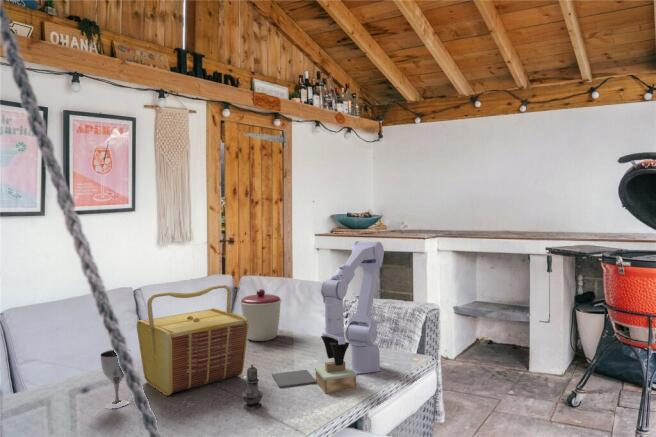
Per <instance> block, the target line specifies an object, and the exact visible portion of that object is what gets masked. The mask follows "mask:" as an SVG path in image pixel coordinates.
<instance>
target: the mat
mask: <svg viewBox="0 0 656 437" xmlns="http://www.w3.org/2000/svg"><path fill="white" fill-rule="evenodd" d="M271 376H272V378H273V380H274V382H275V383H276V385H277V386H278V388H279V389H284V388H291V387H299V386H306V385H311V384H312V385H313V384H317V381H316V378H314V377H313V375H312V374H311V372H310V371H309V370H308V369H301V370H300V369H299V370H292V371H285V372H276V373H271Z"/></svg>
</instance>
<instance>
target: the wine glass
mask: <svg viewBox="0 0 656 437" xmlns="http://www.w3.org/2000/svg"><path fill="white" fill-rule="evenodd" d="M128 350H129V351H130V352H131V349H128ZM100 365H101V370H102V373H103V375H104V376H105V377H106V378H107V379H108V380H109V381H111V383H112V384H113V387H114V388H113V389H114V393H115V394H114V395H115V397H114V398H115V399H114V400H115V401H113V400H112V401H113V402H112V404H117V403H120V402H121V401H122V400H119V399H120V398H119V388H120V384H121V381H122V379H124V377H125V376H124V374H123V372H122V370H121V368H120V366H119V363H118V358H117V355H116V353H115V352H114V349H109V350H106V351H103V352H102V353H100Z"/></svg>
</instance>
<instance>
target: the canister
mask: <svg viewBox="0 0 656 437" xmlns="http://www.w3.org/2000/svg"><path fill="white" fill-rule="evenodd" d="M265 292H266V291H265V290H264V289H262V288H261V289H257V290H256V294H252V295H246V296H244V297H243V298H241V299H240V300H239V304H240V306H241V314H242V315H241V316H244V317H245V318H246V319H247V320H248V335H247V340H249V341H253V342H265V341H267V342H268V341H270V340H273V339H275V338H276V336H278V333H279V325H280V316H281V314H280V313H281V303H282V301H283V299H282V298H281V297H279V296H278V295H275V294H267V293H265Z"/></svg>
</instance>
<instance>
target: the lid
mask: <svg viewBox="0 0 656 437" xmlns="http://www.w3.org/2000/svg"><path fill="white" fill-rule="evenodd" d="M349 366H350V365H348V364H347V363H346V361H343V365H339V366H336V365H335V361H334V360H333V361H326V362H324V365H322V366H315V367H314V371H315V373H316V372H317V373H318V374H319V375H320V376H321V377H322V378H323V379H324V380H332V379H339V378H347V377H355V376H356V377H357V376H358V374H357V373H356V372H354V371H353V370H352V369H351V368H350V367H349Z"/></svg>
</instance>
